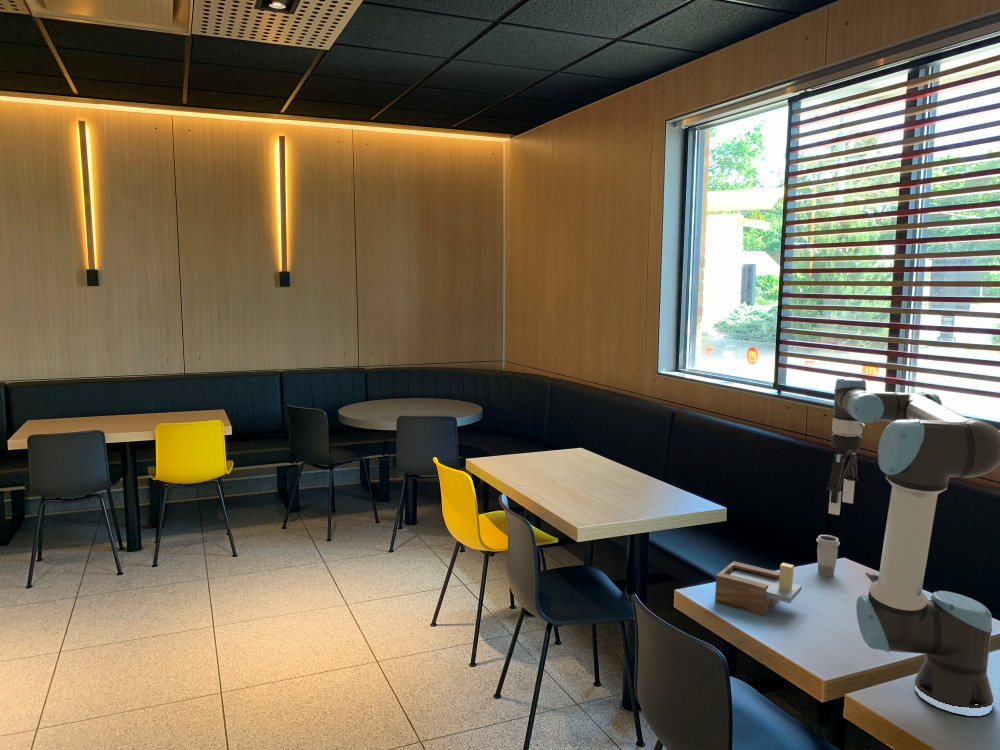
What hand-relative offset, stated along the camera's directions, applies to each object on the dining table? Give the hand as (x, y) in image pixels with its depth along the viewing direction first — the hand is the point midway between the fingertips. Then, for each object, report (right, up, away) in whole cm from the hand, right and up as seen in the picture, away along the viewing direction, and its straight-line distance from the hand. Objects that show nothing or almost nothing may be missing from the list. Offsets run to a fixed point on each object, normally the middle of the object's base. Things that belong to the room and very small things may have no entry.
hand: (840, 508), depth 208 cm
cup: (+9, -27, +30) cm, 41 cm away
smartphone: (+25, -28, +23) cm, 44 cm away
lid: (-20, -24, +6) cm, 32 cm away
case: (-23, -29, +9) cm, 38 cm away
